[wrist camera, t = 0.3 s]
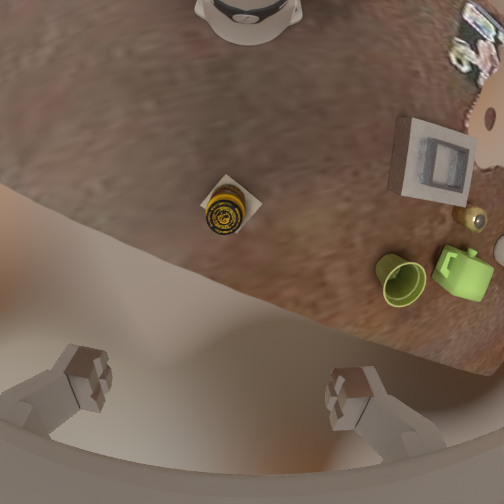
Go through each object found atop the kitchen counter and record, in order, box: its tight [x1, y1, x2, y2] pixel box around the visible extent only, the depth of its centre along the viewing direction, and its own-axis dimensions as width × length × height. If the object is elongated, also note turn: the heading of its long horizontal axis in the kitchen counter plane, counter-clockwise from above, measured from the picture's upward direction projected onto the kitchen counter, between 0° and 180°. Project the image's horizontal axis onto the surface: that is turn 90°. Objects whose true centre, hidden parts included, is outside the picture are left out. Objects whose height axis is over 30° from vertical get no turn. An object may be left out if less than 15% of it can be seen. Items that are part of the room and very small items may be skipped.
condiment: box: [201, 174, 263, 235], centre depth 51 cm, size 7×8×12 cm
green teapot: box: [431, 245, 494, 302], centre depth 58 cm, size 18×10×10 cm, turn 74°
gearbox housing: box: [387, 117, 477, 208], centre depth 49 cm, size 14×16×8 cm
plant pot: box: [375, 254, 426, 307], centre depth 58 cm, size 9×9×9 cm
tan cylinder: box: [452, 203, 487, 233], centre depth 54 cm, size 5×5×8 cm
